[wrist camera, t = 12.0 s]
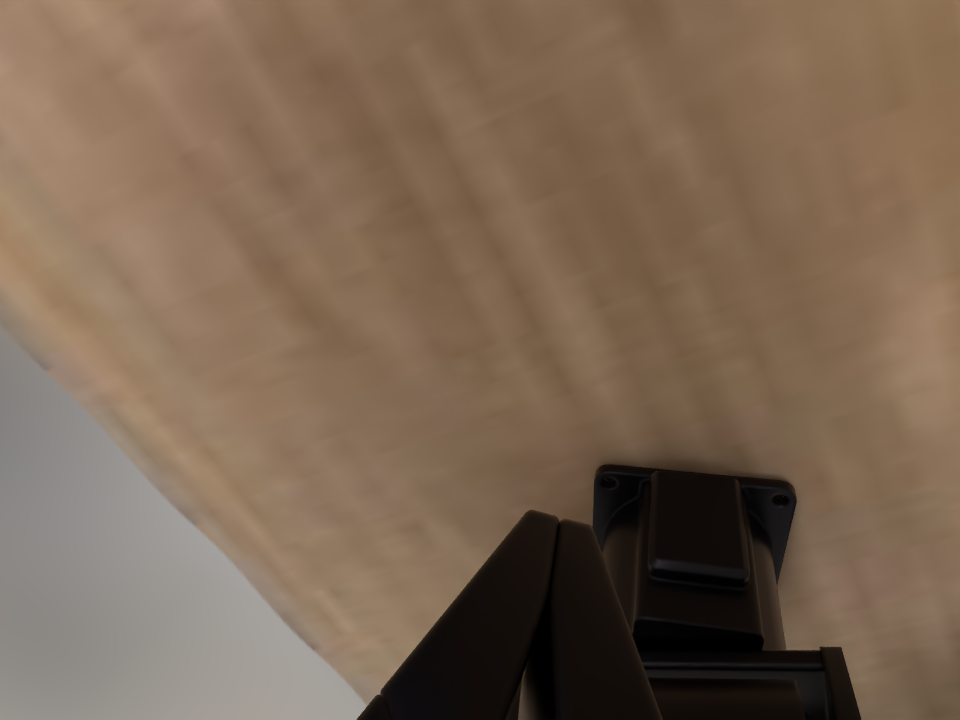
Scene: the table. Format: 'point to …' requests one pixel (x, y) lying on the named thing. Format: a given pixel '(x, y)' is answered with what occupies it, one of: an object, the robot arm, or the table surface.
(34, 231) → the table surface
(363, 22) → the table surface
